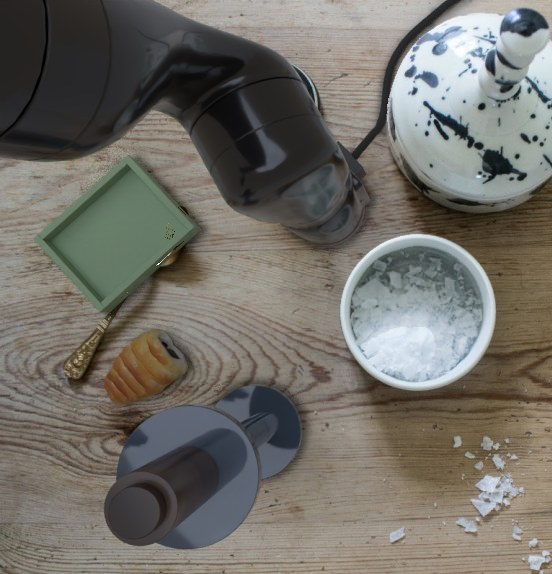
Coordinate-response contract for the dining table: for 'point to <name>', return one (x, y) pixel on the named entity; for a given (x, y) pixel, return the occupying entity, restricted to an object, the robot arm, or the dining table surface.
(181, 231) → the tray
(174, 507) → the pepper mill
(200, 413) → the stand
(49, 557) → the dining table surface
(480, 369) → the dining table surface
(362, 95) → the dining table surface
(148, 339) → the pastry
